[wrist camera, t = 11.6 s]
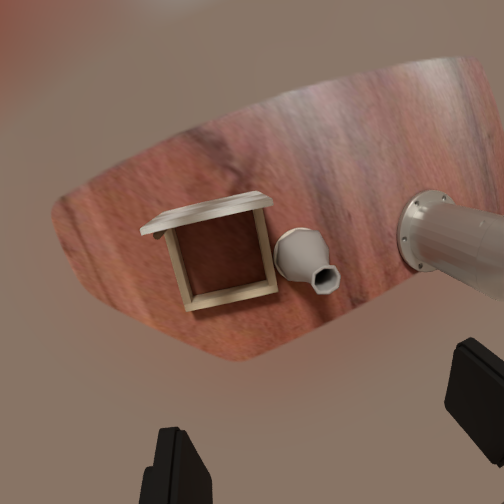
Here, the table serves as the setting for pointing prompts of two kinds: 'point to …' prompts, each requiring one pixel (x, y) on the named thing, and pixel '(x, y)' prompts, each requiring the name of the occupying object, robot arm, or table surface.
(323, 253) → the flask
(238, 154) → the table surface
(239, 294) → the open-lid wooden box
